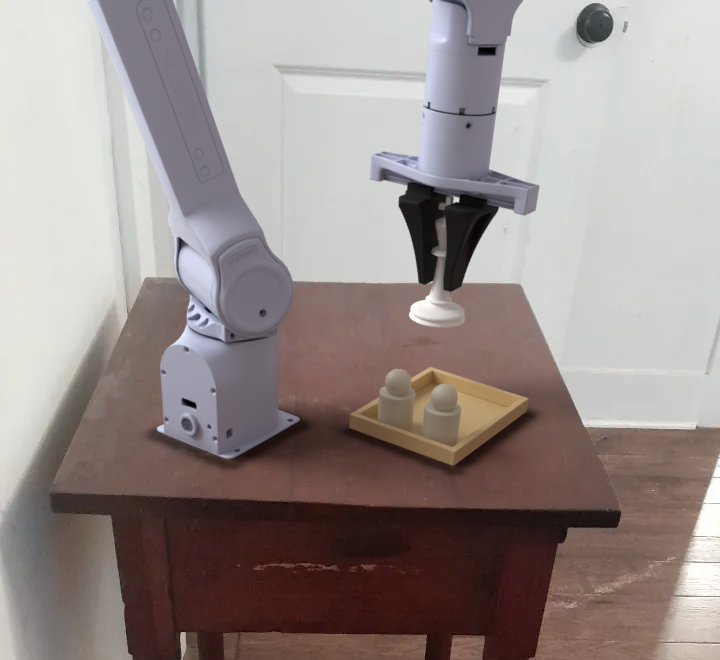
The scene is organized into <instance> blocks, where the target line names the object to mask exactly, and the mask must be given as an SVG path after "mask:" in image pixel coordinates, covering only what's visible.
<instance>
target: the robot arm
mask: <svg viewBox="0 0 720 660" xmlns="http://www.w3.org/2000/svg"><path fill="white" fill-rule="evenodd" d="M86 1H87V4H88V6H89V9H90V11H91V14H92V16H93V19H94V21H95V24H96V26H97V28H98V31H99V33H100V36H101V39H102V41H103V43H104V46H105V48H106V51H107V53H108V56H109V58H110V61H111V63H112V65H113V68H114V70H115V73H116V76H117V79H118V81H119V83H120V85H121V88H122V91H123V93H124V96H125V98H126V101H127V103H128V105H129V108H130V110H131V113H132V115H133V119H134V121H135V123H136V125H137V128H138V131H139V133H140V135H141V138H142V140H143V142H144V145H145V148H146V150H147V153H148V155H149V158H150V160H151V163H152V165H153V168H154V171H155V172H156V175H157V177H158V180H159V183H160V185H161V188H162V190H163V193H164V195H165V197H166V200H167V202H168V205H169V213H168V215H167V224H168V227H169V229H170V231H171V234H172V238H173V244H174V252H173V253H174V254H173V265H174V267H173V268H174V272H175V275H176V277H177V280H178V282H179V284H180V285H181V286H182V287H183V289H184V290H185V291H186V292H188V293H189V303H188V307H187V311H186V325H185V328H184V330H183V332H182V334H181V336H179V338H178V339H177V340H176V341H174V342H173V343H172V344H171V345H169V346H168V347H167V348H166V349H165V350H164V352H163V354H162V356H161V359H160V365H159V374H160V390H161V402H162V405H161V406H162V416H163V417H162V419H163V424H161V425H159V426H158V427H156V431H157V432H158V433H160V434H163V435H164V436H165V435H166V436H167V437H170V438H173V439H175V440H178V441H180V442H182V443H185V444H187V445H190V446H193V447H195V448H198V449H200V450H202V451H205V452H207V453H210V454H212V455H214V456H217V457H220V458H222V459H224V460H233V459H235V458H237V457H239V456H240V455H242V454H244V453H246V452H248V451H249V450H251V449H253V448H255V447H256V446H258V445H260V444H262V443H264V442H266V441H267V440H269V439H271V438H273V437H274V436H276V435H277V434H279V433H282V432H283V431H285V430H286V429H288V428H290V427H291V426H295V424H297V423H299V422H300V421H301V419H300V417H298V416H297V415H293V414H292V413H289V412H285V411H283V410H281V409H279V394H280V393H279V388H280V386H279V385H280V381H279V380H280V379H279V377H280V375H279V374H280V325H281V324H282V323H283V322H284V320H285V319H286V318H287V316H288V314H289V312H290V310H291V309H292V308H291V307H292V304H293V301H294V296H295V295H294V293H295V290H294V289H295V288H294V287H295V286H294V280H293V276H292V274H291V272H290V270H289V268H288V266H287V265H286V264H285V262H284V261H282V260H281V259H280V258H279V257H278V256H277V255H276V254H275V253H274V252H273V251H272V249H271V248H270V246H269V244H268V242H267V239H266V236H265V234H264V231H263V229H262V226H261V225H260V223H259V222H258V219H257V218H256V217H255V215H254V213H253V212H252V210H251V209H250V207H249V205H248V204H247V203H246V201H245V199H244V197H243V196H242V194H241V193H240V190H239V187H238V183H237V181H236V178H235V175H234V172H233V170H232V167H231V164H230V161H229V157H228V155H227V152H226V150H225V146H224V143H223V140H222V137H221V135H220V132H219V129H218V125H217V123H216V120H215V118H214V114H213V112H212V108H211V105H210V103H209V101H208V96H207V93H206V91H205V88H204V85H203V83H202V80H201V76H200V74H199V72H198V68H197V65H196V62H195V59H194V57H193V54H192V51H191V47H190V45H189V43H188V40H187V36H186V34H185V30H184V28H183V26H182V22H181V19H180V16H179V13H178V11H177V8H176V5H175V1H174V0H86ZM428 1H429V2H430V3H431V14H430V15H431V16H430V26H429V36H428V37H429V38H428V49H427V50H428V51H427V58H426V59H427V61H426V72H425V80H424V81H425V83H424V94H423V105H422V114H421V123H420V136H419V137H420V138H419V147H418V155H410V154H403V153H402V154H401V153H395V152H390V151H386V150H385V151H384V150H383V151H380V152H376V153H373V154H371V155H370V166H369V180H370V181H375V182H383V181H385V182H389V183H394V184H399V185H403V186H406V189H405V191H404V194H402V195H401V194H400V195H399V196H398V208H399V211H400V212H401V214H402V216H403V220H404V221H405V224H406V227H407V230H408V233H409V236H410V240H411V243H412V248H413V253H414V259H415V265H416V272H417V282H418V284H420V285H424V286H426V285H428V284H430V283H433V279H434V275H435V270H436V265H437V260H438V256H435V255H433V254H432V253H431V251H432V249H433V248H434V247H437V246H438V245H439V242H438V237H437V231H436V227H435V221H436V220H437V219H439V218H443V217H444V216H445V221H446V235H447V251H446V261H445V269H444V278H443V288H444V290H445V291H449V293H452V292H454V291H456V290H458V289H460V288H462V287H463V283H464V280H465V277H466V273H467V270H468V268H469V265H470V262H471V260H472V258H473V256H474V253H475V251H476V248H477V247H478V244H479V243H480V241H481V239H482V237H483V236H484V233H485V232H486V231H487V228H488V227H489V225H490V224H491V222H492V220H493V219H494V218H495V217H496V215H497V213H499V209H500V208H501V209H506V210H510V211H513V213H514V214H516V215H519V216H520V215H521V216H527V215H529V214H531V213H533V212H536V210H537V205H538V197H539V193H540V185H539V184H536V183H532V182H528V181H525V180H521V179H518V178H516V177H512V176H510V175H507V174H504V173H501V172H499V171H496V170H493V169H490V164H491V156H492V149H493V143H494V133H495V127H496V126H495V125H496V120H497V119H496V118H497V111H498V103H499V96H500V87H501V80H502V73H503V65H504V57H505V50H506V43H507V40H508V37H511V33H512V29H513V27H512V26H513V22H514V21H513V20H514V17H515V14H516V12H517V10H518V9H519V7H520V6H521V5H522V3H523V1H524V0H428ZM447 196H452V197H454V198H457V199H458V198H459V199H458V201H455V202H453V203H452V204H450V205H447V206H445V209H444V210H441V209H439V203H442V202H443V203H446V197H447Z"/></svg>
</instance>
